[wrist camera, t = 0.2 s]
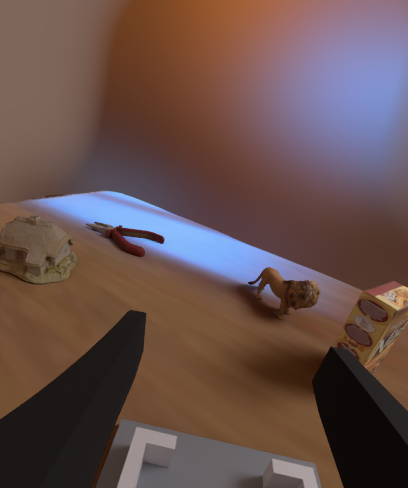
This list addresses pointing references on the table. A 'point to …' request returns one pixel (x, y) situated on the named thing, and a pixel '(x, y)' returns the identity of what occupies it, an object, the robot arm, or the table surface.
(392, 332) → the candy box
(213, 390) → the table surface
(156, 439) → the board
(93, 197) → the table surface
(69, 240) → the ceramic model
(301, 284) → the lion figurine
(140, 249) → the pliers
